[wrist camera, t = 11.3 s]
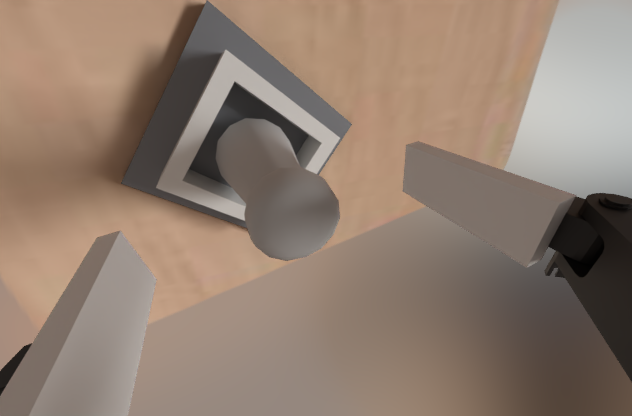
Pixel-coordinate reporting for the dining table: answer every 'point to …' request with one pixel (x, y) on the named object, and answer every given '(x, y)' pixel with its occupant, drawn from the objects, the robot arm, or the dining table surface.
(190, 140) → the socket
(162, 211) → the dining table surface
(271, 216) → the grey bulb peg
